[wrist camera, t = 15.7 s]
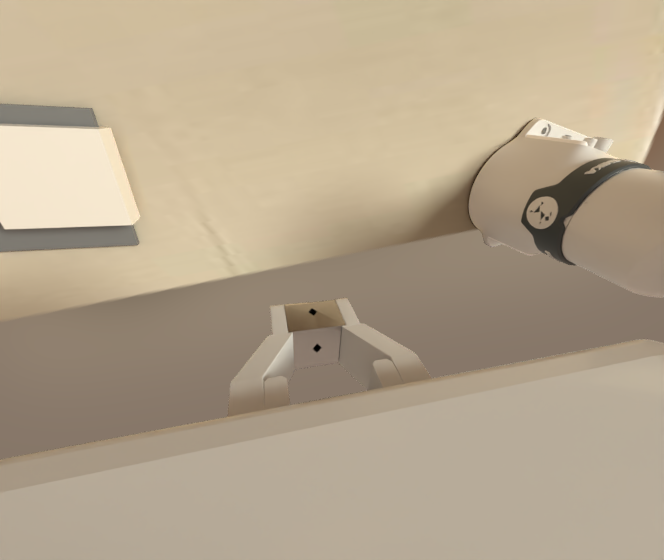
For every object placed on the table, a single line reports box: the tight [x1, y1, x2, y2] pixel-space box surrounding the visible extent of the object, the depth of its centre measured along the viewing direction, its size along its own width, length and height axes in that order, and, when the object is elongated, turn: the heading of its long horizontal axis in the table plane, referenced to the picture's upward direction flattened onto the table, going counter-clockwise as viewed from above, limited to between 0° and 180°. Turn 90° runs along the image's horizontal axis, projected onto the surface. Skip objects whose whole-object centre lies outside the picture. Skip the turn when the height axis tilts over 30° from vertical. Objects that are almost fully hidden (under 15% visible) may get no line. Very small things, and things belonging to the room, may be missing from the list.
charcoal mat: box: [0, 104, 139, 252], centre depth 28 cm, size 14×14×1 cm
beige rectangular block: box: [0, 123, 140, 229], centre depth 27 cm, size 3×9×11 cm
